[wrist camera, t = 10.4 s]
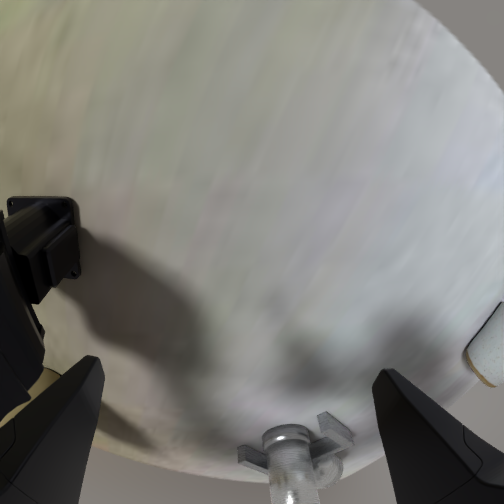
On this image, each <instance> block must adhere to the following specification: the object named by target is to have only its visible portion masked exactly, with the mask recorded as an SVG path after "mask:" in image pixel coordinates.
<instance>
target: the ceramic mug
mask: <svg viewBox="0 0 504 504" xmlns="http://www.w3.org/2000/svg"><path fill="white" fill-rule="evenodd" d="M466 359H467V361H468V364H469V365H470V367H471V369H472V370H473V372H474V373H475V374H476V376H477V377H478V378H479V379H480V380H481V381H482V382H483V383H484V384H486V385H487V386H489V387H497V386H498V385H500V384H501V383H502V382H504V302H502V303H501V304H500V306H499V307H498V309H497V310H496V311H495V313H494V314H493V315H492V317H491V318H490V319H489V321H488V322H487V323H486V325H485V326H484V327H483V329H482V330H481V331H480V332H479V333H478V335H477V336H476V337H475V338H474V339H473V341H472V342H471V344H470V345H469V347H468V348H467V350H466Z"/></svg>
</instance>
